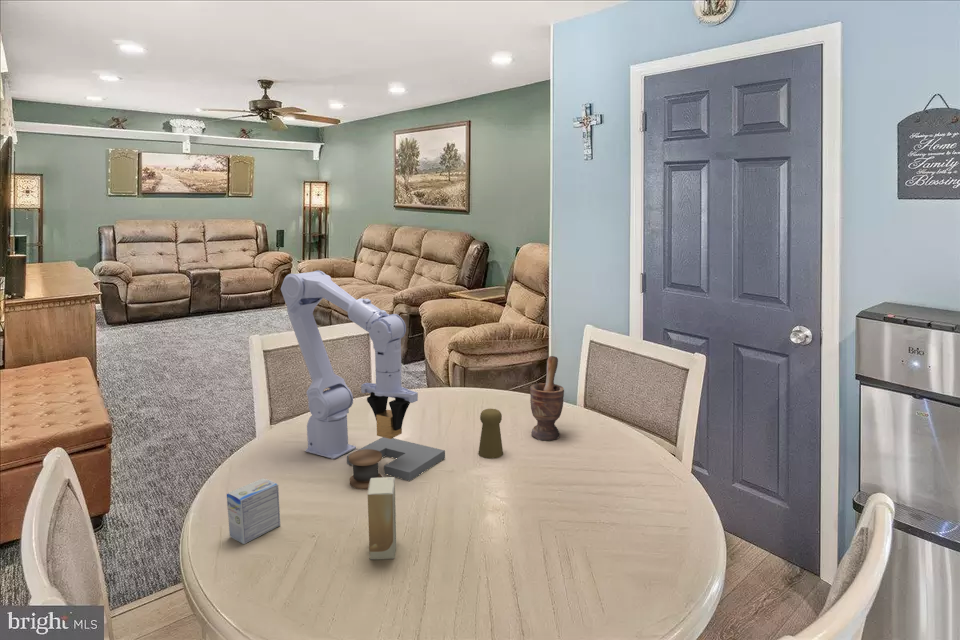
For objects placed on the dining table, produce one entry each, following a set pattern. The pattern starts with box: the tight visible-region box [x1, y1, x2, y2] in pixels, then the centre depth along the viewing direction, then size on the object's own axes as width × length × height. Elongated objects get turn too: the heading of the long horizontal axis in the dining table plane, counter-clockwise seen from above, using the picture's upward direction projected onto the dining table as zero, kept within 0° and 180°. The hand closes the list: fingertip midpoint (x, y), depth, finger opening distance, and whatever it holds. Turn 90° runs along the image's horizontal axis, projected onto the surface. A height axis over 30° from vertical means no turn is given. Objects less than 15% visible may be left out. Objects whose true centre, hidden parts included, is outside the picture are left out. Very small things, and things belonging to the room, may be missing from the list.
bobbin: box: [348, 449, 383, 490], centre depth 130 cm, size 7×7×6 cm
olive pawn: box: [477, 408, 504, 460], centre depth 144 cm, size 6×6×11 cm
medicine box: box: [226, 477, 281, 545], centre depth 109 cm, size 8×4×9 cm, turn 145°
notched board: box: [346, 437, 446, 482], centre depth 141 cm, size 18×14×2 cm
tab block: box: [375, 409, 403, 439], centre depth 136 cm, size 4×4×5 cm
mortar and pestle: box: [529, 355, 565, 441], centre depth 157 cm, size 12×9×20 cm
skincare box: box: [367, 476, 397, 560], centre depth 103 cm, size 6×4×12 cm
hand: (389, 427), depth 137 cm, fingers closed on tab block, 4 cm apart
